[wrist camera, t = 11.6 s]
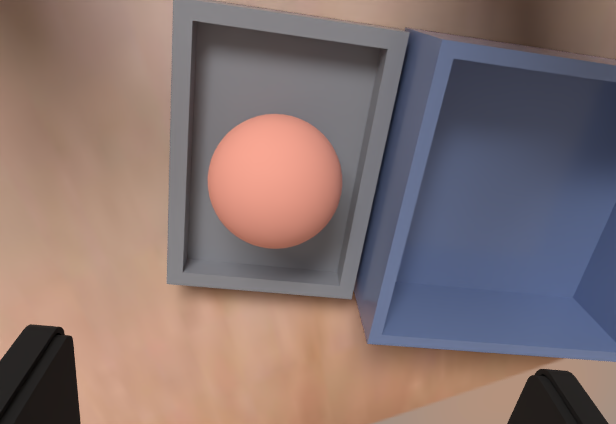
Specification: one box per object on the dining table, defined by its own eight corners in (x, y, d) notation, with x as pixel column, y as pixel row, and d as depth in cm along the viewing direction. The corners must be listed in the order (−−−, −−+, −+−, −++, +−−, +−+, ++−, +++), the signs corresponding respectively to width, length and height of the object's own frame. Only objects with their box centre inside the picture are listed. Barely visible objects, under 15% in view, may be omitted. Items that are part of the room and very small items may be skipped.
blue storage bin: (677, 69, 24) (781, 90, 19) (572, 300, 30) (631, 362, 25) (405, 27, 22) (442, 39, 18) (351, 281, 28) (367, 343, 23)
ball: (345, 108, 23) (362, 148, 18) (326, 217, 26) (335, 281, 20) (221, 91, 23) (200, 127, 17) (214, 205, 25) (193, 267, 20)
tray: (398, 28, 22) (409, 32, 21) (346, 279, 28) (351, 299, 26) (182, -5, 21) (173, -3, 20) (173, 264, 27) (166, 283, 25)
